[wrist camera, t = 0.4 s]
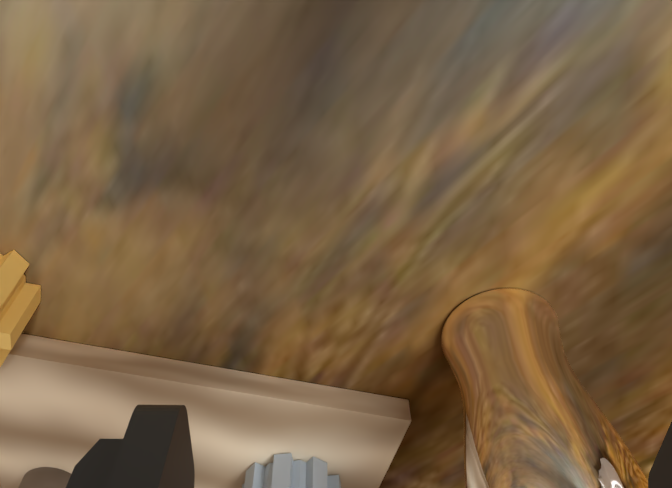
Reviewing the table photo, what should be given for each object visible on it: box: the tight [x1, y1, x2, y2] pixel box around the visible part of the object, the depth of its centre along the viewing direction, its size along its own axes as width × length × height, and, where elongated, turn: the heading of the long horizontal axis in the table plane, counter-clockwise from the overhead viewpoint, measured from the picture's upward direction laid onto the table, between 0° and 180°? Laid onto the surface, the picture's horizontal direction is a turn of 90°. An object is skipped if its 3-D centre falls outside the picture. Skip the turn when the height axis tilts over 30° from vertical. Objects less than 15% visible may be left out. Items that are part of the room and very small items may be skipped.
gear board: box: [0, 334, 411, 488], centre depth 35 cm, size 14×22×6 cm, turn 76°
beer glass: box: [441, 288, 648, 488], centre depth 26 cm, size 7×7×15 cm
